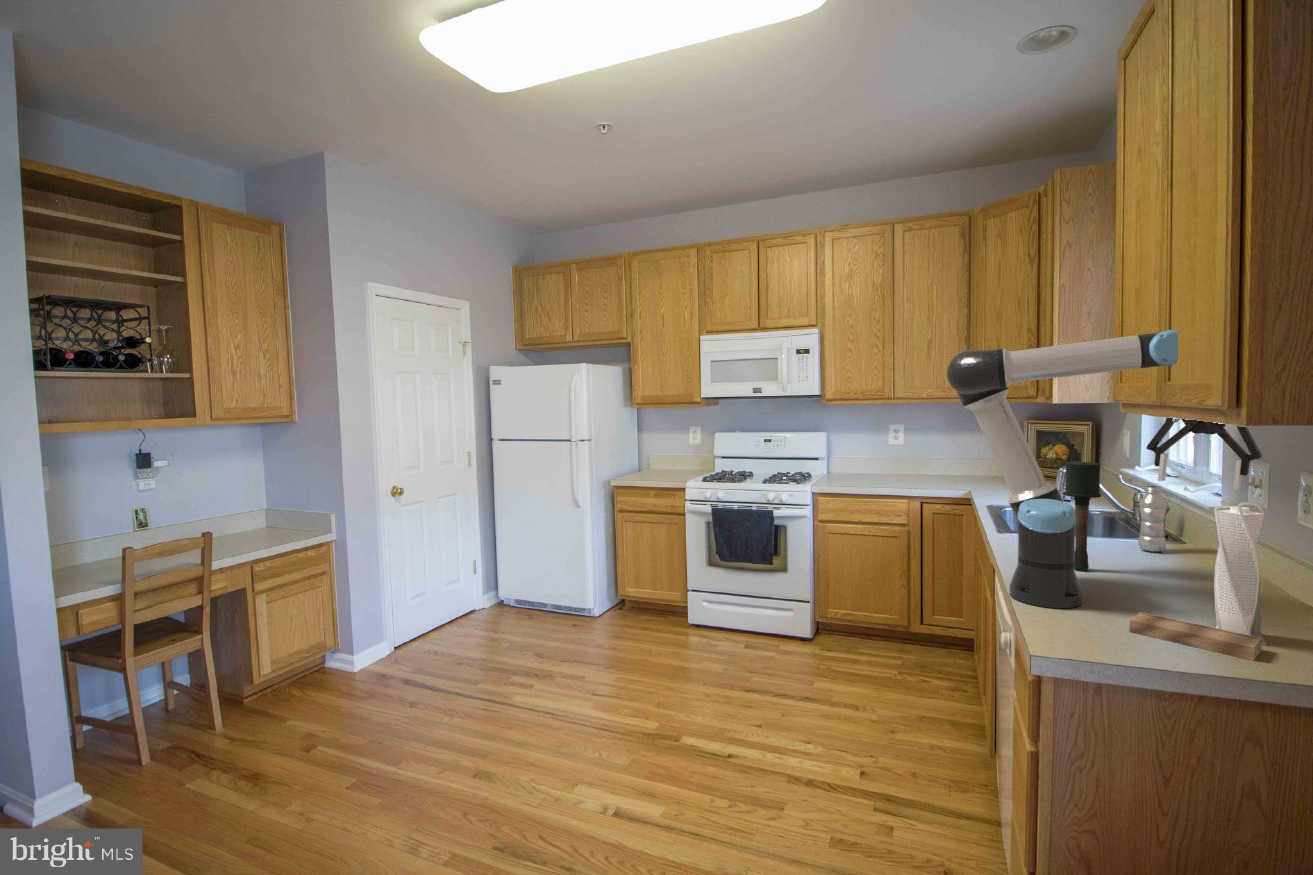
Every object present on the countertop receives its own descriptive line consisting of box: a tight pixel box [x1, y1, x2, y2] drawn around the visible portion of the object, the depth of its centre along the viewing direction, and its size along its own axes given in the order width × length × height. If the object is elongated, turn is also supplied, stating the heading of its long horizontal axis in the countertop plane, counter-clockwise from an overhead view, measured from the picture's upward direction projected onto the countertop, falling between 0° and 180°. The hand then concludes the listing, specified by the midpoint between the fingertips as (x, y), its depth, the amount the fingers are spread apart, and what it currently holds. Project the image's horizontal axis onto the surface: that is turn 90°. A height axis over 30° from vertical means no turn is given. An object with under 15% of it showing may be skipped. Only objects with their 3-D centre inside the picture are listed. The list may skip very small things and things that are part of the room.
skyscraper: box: [1213, 501, 1267, 646], centre depth 126 cm, size 8×8×28 cm
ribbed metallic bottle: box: [1137, 485, 1167, 553], centre depth 192 cm, size 6×7×20 cm
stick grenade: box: [1063, 461, 1102, 572], centre depth 174 cm, size 8×9×30 cm
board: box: [1128, 611, 1262, 661], centre depth 126 cm, size 19×7×3 cm, turn 38°
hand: (1197, 485), depth 147 cm, fingers open, 13 cm apart
